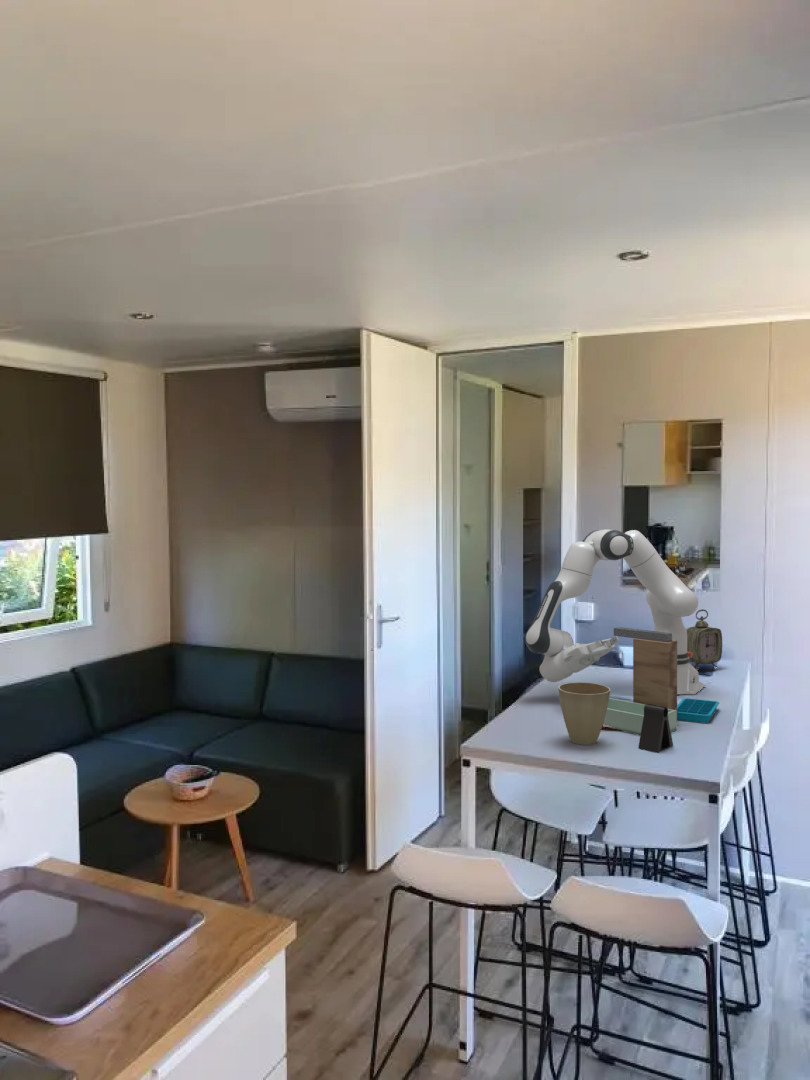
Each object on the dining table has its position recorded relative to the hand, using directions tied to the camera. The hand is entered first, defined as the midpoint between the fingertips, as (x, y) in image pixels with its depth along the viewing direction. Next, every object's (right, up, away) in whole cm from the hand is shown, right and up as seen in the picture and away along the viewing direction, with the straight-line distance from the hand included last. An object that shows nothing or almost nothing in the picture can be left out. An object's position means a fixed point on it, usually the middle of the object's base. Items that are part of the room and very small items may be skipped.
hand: (609, 640), depth 276 cm
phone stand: (+4, -26, -38) cm, 46 cm away
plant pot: (-15, -26, -32) cm, 44 cm away
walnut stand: (+12, -24, -11) cm, 29 cm away
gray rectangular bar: (+8, +2, -9) cm, 12 cm away
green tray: (+1, -25, -15) cm, 29 cm away
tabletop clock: (+53, -20, +63) cm, 85 cm away
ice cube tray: (+28, -24, -4) cm, 37 cm away
